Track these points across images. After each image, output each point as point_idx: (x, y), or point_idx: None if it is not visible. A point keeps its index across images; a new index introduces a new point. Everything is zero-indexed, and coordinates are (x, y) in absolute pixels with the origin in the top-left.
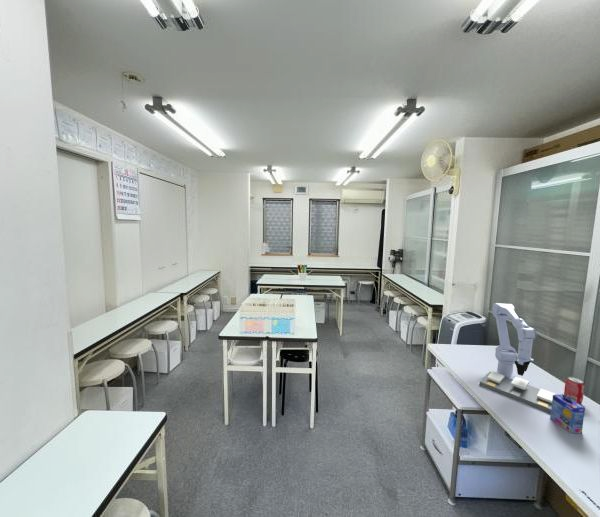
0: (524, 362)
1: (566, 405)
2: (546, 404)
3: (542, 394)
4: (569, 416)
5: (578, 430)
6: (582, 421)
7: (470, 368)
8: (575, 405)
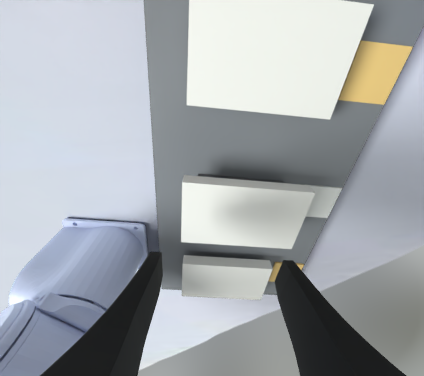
0: (129, 372)
1: None
2: (370, 53)
3: (290, 87)
4: None
5: None
6: None
7: (173, 313)
8: None
